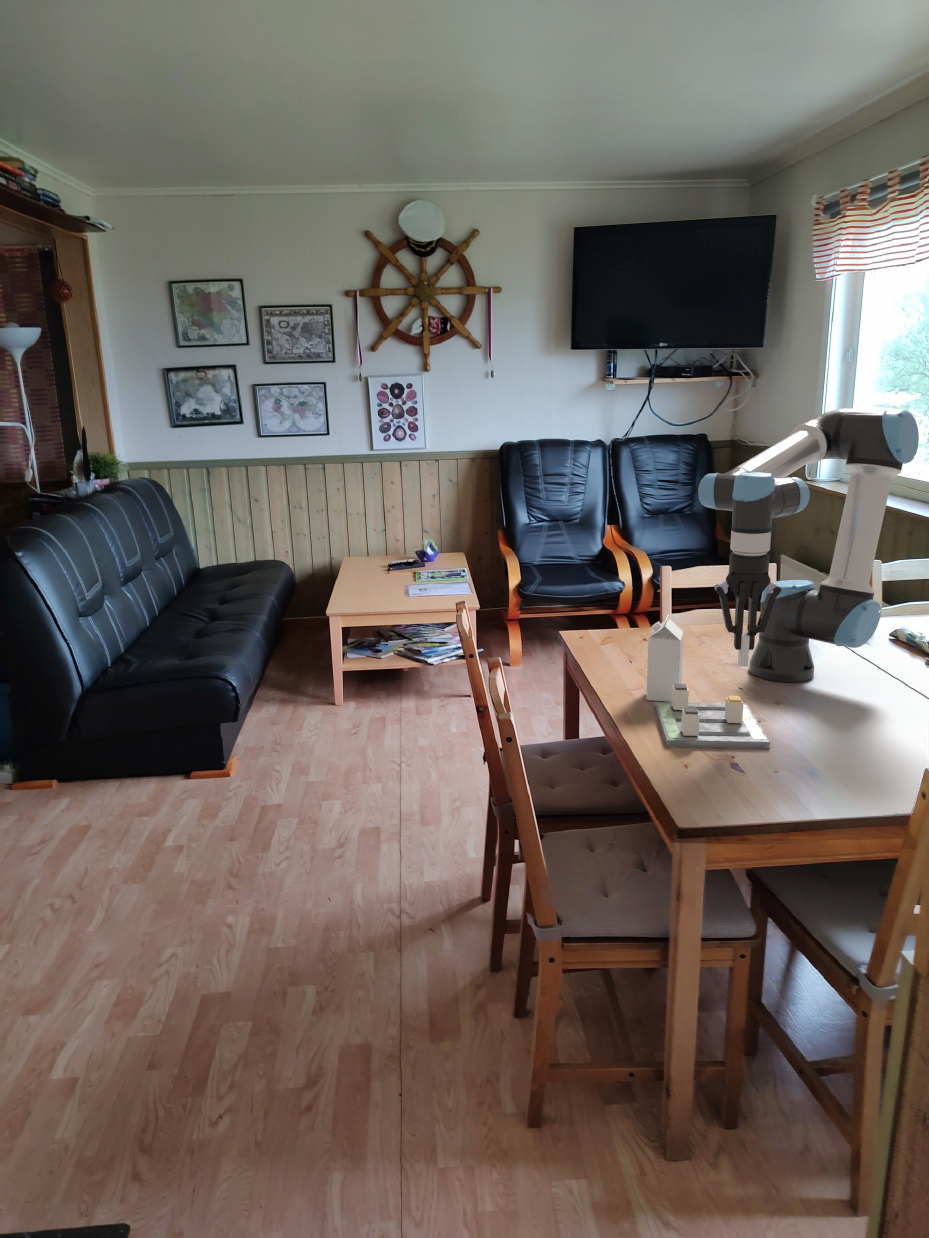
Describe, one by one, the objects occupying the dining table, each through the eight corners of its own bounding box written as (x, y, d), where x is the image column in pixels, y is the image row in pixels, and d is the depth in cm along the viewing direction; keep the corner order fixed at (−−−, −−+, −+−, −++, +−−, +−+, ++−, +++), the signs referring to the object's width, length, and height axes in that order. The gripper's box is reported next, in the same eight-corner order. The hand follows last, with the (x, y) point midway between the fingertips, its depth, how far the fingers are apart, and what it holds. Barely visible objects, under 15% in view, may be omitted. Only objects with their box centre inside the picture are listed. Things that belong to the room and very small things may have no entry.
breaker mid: (739, 717, 180) (740, 695, 179) (742, 723, 178) (743, 700, 176) (724, 717, 181) (726, 695, 179) (727, 722, 178) (728, 700, 177)
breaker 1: (685, 704, 188) (686, 683, 187) (687, 709, 185) (688, 688, 184) (671, 704, 188) (672, 683, 187) (673, 709, 186) (674, 688, 184)
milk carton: (680, 693, 200) (684, 615, 195) (677, 703, 194) (681, 623, 189) (649, 690, 202) (652, 613, 197) (646, 700, 196) (648, 621, 191)
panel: (745, 709, 189) (746, 702, 189) (769, 748, 169) (770, 741, 169) (654, 708, 191) (654, 701, 191) (666, 746, 171) (667, 739, 171)
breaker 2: (696, 729, 175) (697, 707, 173) (698, 735, 172) (699, 712, 170) (681, 729, 175) (682, 706, 174) (683, 735, 172) (684, 712, 171)
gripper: (779, 547, 172) (771, 658, 179) (713, 548, 174) (707, 658, 180) (788, 555, 165) (779, 670, 172) (719, 555, 167) (713, 669, 173)
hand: (742, 664), depth 176 cm, fingers closed
